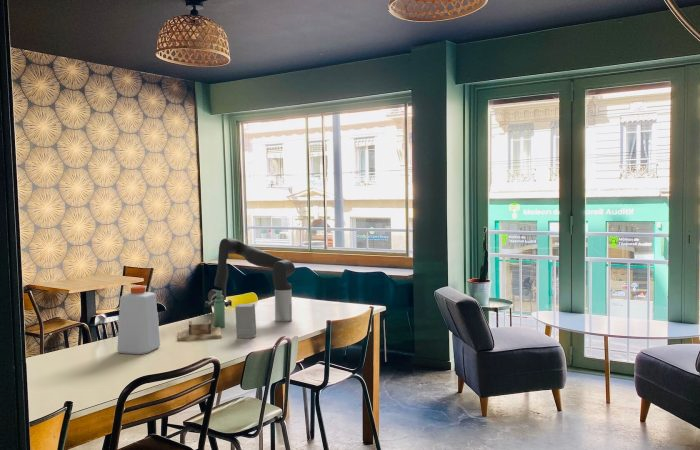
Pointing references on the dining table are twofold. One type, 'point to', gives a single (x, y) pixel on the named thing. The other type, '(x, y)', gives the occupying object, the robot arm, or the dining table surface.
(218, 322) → the bottle
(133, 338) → the plastic bottle
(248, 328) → the skincare box
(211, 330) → the u rest
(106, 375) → the dining table surface
